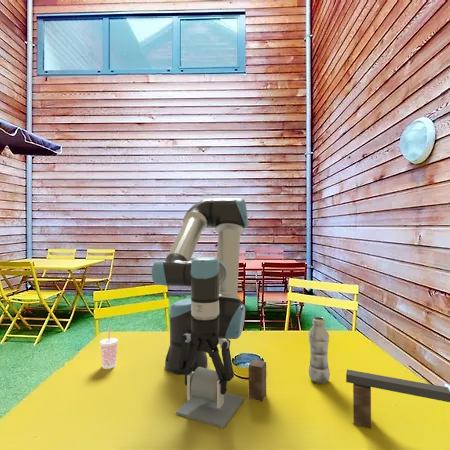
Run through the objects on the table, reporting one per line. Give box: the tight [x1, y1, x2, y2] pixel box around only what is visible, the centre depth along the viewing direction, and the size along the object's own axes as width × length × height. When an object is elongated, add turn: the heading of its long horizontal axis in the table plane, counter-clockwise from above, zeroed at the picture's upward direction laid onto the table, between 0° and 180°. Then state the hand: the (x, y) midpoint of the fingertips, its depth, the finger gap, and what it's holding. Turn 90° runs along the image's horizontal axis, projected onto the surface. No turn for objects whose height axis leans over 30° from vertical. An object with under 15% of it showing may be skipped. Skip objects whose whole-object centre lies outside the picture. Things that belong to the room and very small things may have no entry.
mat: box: [175, 392, 245, 429], centre depth 86 cm, size 14×14×1 cm
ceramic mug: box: [191, 367, 219, 401], centre depth 86 cm, size 11×8×8 cm
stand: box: [248, 359, 372, 429], centre depth 85 cm, size 32×4×10 cm, turn 65°
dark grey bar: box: [345, 368, 450, 403], centre depth 76 cm, size 22×3×2 cm, turn 65°
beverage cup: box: [99, 326, 119, 370], centre depth 111 cm, size 6×6×14 cm
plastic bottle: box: [307, 316, 331, 384], centre depth 100 cm, size 6×7×20 cm
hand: (205, 401), depth 82 cm, fingers closed on ceramic mug, 8 cm apart
